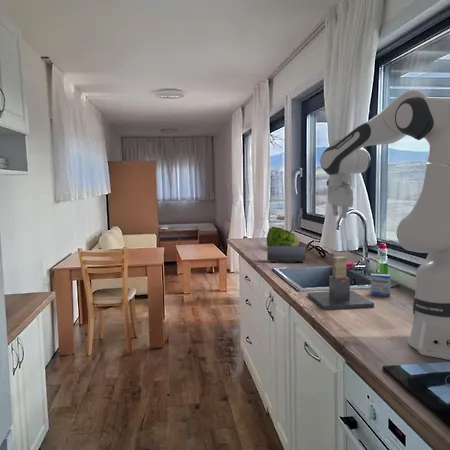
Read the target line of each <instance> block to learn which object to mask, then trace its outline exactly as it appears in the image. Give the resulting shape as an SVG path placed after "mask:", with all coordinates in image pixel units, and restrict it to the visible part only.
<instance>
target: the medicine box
mask: <svg viewBox="0 0 450 450" xmlns="http://www.w3.org/2000/svg"><path fill="white" fill-rule="evenodd" d="M391 280H392V279H391V274H389V273H388V274H387V273H384V274H383V273H371V274H370V295H371V296H382V297H390V296H391Z"/></svg>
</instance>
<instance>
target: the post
mask: <svg viewBox="0 0 450 450" xmlns="http://www.w3.org/2000/svg"><path fill="white" fill-rule="evenodd" d="M332 276H333V277H334V278H336V279H339V278H346V277H347V257H345V256H333V257H332Z"/></svg>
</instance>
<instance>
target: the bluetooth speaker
mask: <svg viewBox="0 0 450 450" xmlns="http://www.w3.org/2000/svg"><path fill="white" fill-rule="evenodd" d="M266 248H267V254H266V257H267V258H266V259H267V261H273V262H277V263H283V264H292V263H293V264H294V263H296V262H305V261H306V259H307V257H306V256H307V255H306V248H307V247H305V246H299V245H298V246H270V247H268V246H267V247H266Z"/></svg>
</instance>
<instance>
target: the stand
mask: <svg viewBox="0 0 450 450" xmlns="http://www.w3.org/2000/svg"><path fill="white" fill-rule="evenodd" d="M328 278H329V280H328V281H329V282H328V289H329V290H328V291H318V292H317V291H314V292H313V291H312V292H307V297H308V298H310V300H312V301H313V302H314V303H315V304H316V305H318V307H320V308H321V309H322V310H324V311H326V310H327V311H328V310H346V309H363V308H365V309H366V308H375V303H374V302H373V301H372V300H369V299H368V298H366V297H365V296H363V295H361V294H359V293H357V292H356V291H354V290H351V278H350V277H348V276H346V278H339V279H336V278H334V277H333V275H329V277H328Z"/></svg>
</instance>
